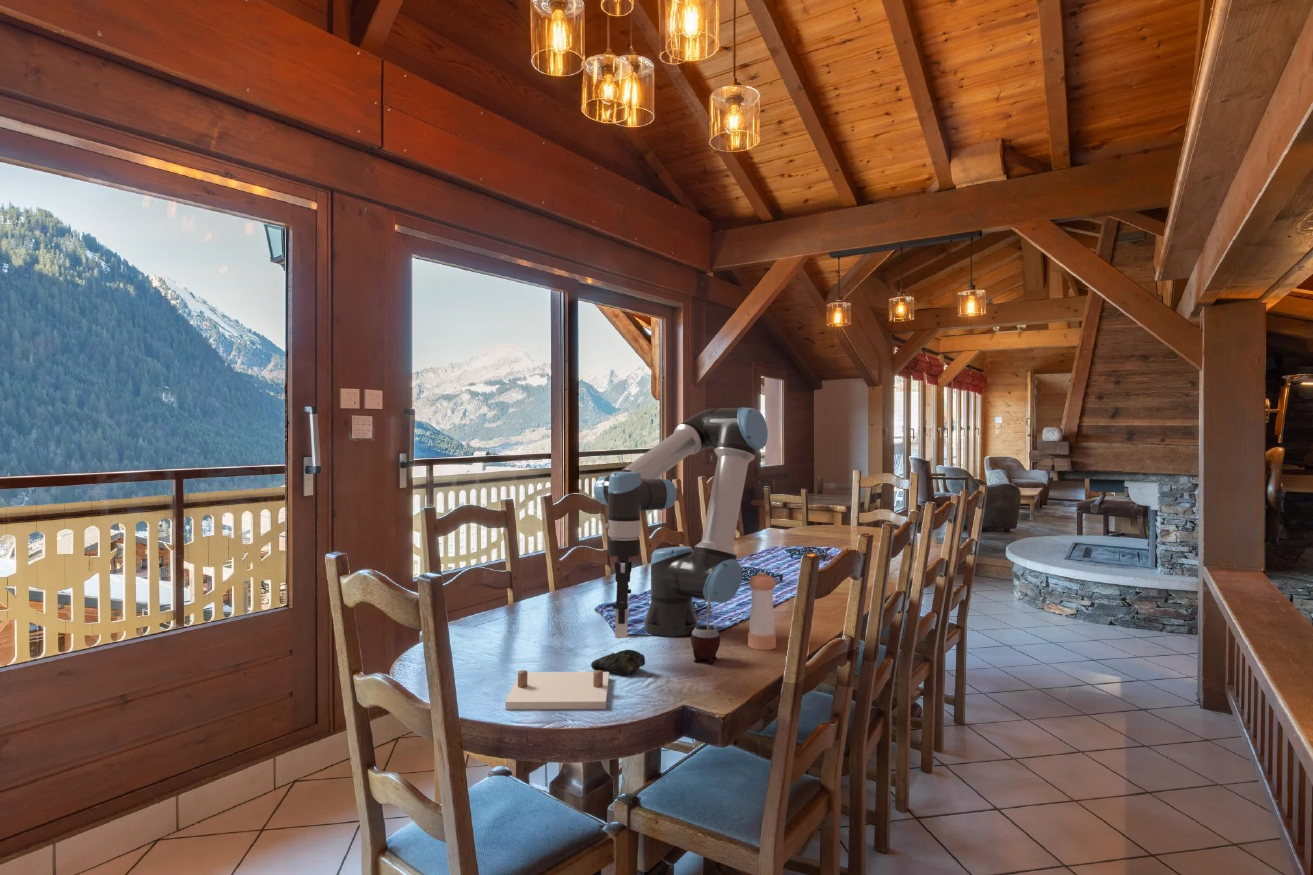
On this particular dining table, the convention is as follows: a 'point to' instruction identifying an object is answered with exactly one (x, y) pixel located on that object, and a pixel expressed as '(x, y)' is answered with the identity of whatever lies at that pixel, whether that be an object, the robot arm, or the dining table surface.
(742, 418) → the robot arm
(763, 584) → the pepper shaker
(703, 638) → the mate gourd
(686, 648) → the dining table surface
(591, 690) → the board
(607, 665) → the stone
